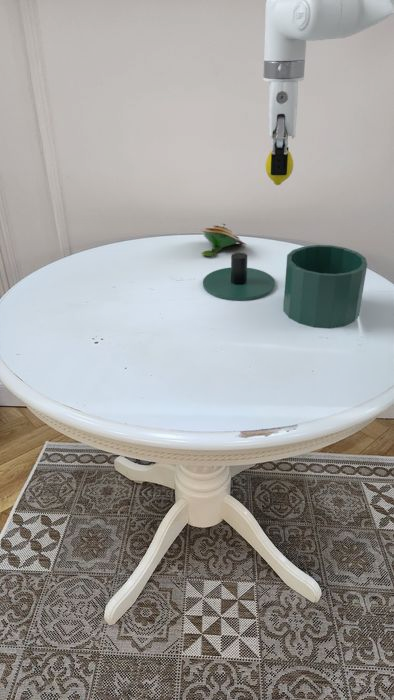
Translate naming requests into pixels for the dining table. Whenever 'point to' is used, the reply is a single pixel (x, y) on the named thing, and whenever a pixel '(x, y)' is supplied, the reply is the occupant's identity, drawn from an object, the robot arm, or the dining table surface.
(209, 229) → the green brown turtle figurine
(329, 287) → the pot
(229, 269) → the lid
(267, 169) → the fruit
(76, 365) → the dining table surface
